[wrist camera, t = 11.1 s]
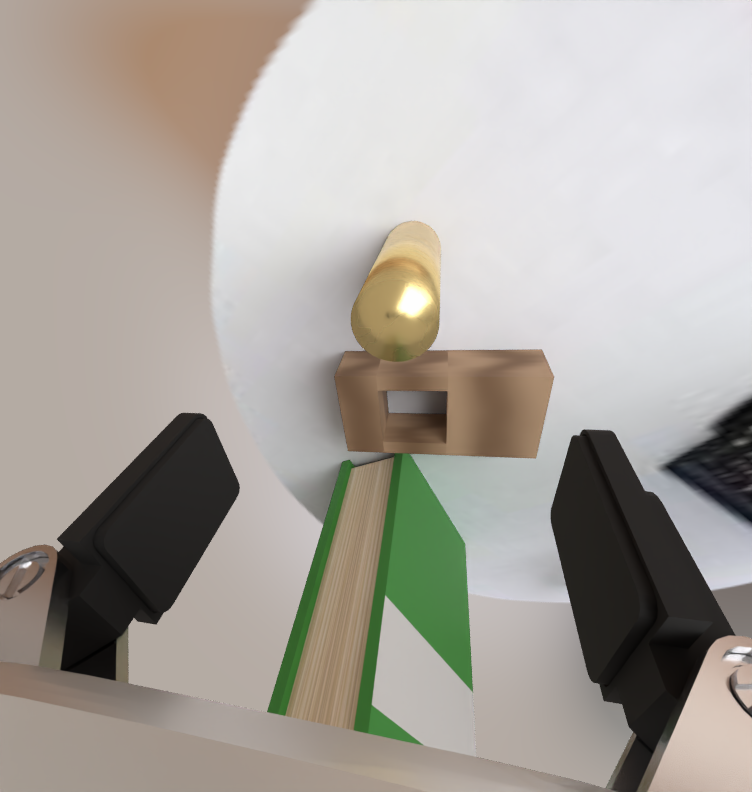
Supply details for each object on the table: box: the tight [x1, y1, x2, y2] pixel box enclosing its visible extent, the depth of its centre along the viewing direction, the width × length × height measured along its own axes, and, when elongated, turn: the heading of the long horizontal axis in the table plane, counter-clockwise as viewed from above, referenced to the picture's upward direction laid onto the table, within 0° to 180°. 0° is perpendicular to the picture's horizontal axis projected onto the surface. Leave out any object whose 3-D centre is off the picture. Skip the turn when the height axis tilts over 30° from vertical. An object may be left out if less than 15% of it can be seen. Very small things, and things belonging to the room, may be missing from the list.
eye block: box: [334, 350, 554, 458], centre depth 31 cm, size 16×8×4 cm, turn 95°
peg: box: [351, 221, 441, 362], centre depth 21 cm, size 4×4×12 cm
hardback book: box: [267, 453, 476, 757], centre depth 33 cm, size 18×7×24 cm, turn 28°
